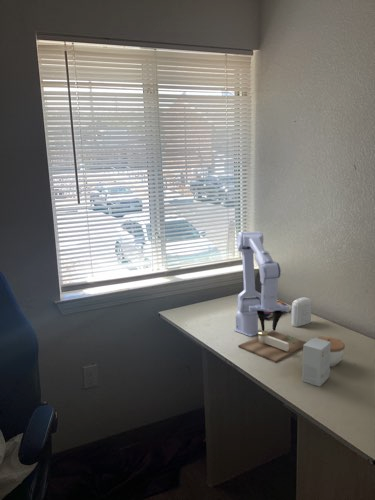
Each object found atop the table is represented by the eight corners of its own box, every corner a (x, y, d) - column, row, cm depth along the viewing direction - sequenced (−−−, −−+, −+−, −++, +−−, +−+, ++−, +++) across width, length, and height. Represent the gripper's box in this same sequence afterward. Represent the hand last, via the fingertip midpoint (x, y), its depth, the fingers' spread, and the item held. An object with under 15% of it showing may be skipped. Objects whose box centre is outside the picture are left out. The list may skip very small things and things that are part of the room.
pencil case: (294, 313, 199) (294, 304, 198) (263, 321, 190) (263, 311, 189) (278, 307, 208) (279, 298, 207) (248, 314, 199) (248, 305, 198)
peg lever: (255, 342, 165) (255, 332, 164) (261, 339, 167) (262, 329, 166) (284, 353, 154) (284, 342, 153) (290, 350, 157) (291, 339, 156)
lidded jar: (349, 368, 144) (351, 343, 142) (321, 370, 143) (322, 345, 141) (334, 354, 155) (335, 331, 153) (307, 357, 153) (308, 333, 151)
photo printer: (304, 320, 190) (305, 294, 188) (312, 323, 186) (313, 297, 184) (289, 325, 184) (290, 299, 182) (296, 328, 181) (297, 301, 178)
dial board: (238, 347, 163) (238, 344, 162) (272, 332, 177) (272, 329, 177) (275, 362, 149) (275, 359, 149) (309, 344, 163) (309, 342, 163)
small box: (311, 371, 142) (313, 336, 139) (329, 377, 138) (331, 341, 135) (301, 381, 136) (302, 344, 133) (319, 387, 132) (321, 349, 129)
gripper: (251, 298, 146) (250, 334, 149) (291, 298, 146) (290, 333, 149) (248, 292, 153) (248, 326, 156) (287, 292, 153) (286, 326, 156)
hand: (268, 329), depth 153 cm, fingers open, 3 cm apart
